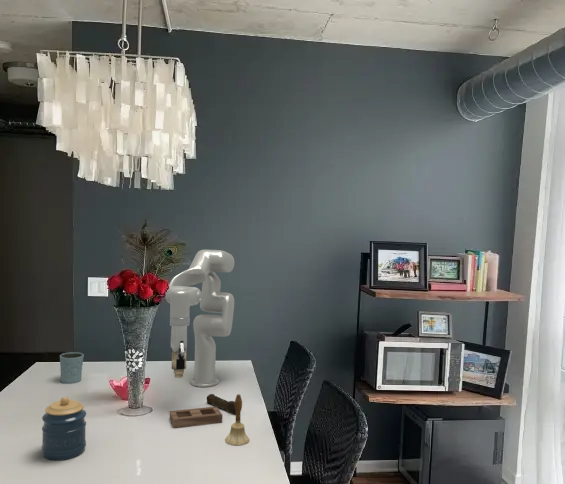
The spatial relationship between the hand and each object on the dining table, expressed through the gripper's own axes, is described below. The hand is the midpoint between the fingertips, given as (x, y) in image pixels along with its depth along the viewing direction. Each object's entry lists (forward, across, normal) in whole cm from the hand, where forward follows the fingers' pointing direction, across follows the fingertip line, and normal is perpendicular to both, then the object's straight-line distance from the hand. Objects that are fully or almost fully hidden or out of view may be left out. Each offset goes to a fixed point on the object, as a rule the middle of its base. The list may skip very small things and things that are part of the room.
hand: (179, 366), depth 204 cm
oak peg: (+4, 0, 0) cm, 4 cm away
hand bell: (+17, +35, +14) cm, 41 cm away
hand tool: (+18, +5, +18) cm, 26 cm away
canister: (+17, +27, -41) cm, 52 cm away
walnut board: (+17, +14, +4) cm, 22 cm away
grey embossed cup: (+18, -48, -40) cm, 65 cm away
